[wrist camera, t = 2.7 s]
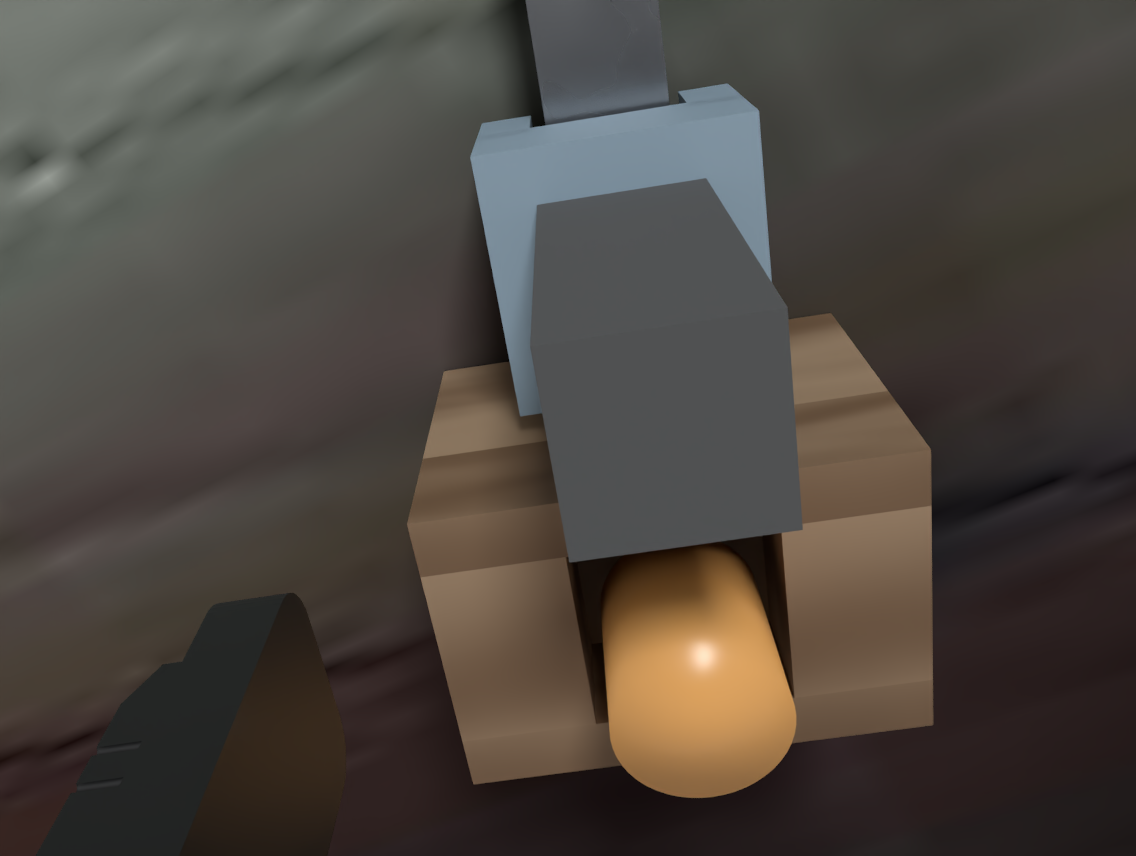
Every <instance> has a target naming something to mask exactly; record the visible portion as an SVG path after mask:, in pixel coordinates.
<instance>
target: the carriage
mask: <svg viewBox="0 0 1136 856" xmlns="http://www.w3.org/2000/svg"><path fill="white" fill-rule="evenodd" d="M678 96H679V104H675V105H669V106H663V107H657V108H651V109H644V110H638V111H632V112H626V113H620V114H614V115H607V116H601V117H595V118H589V119H583V120H576V121H570V122H564V123H558V124H552V125H546V126H539V127H533V126H532V120H531V116H525V117H519V118H512V119H506V120H500V121H494V122H488V123H482V125H481V128H480V131H479V134H478V137H477V139H476V142H475V145H474V148H473V151H472V154H471V156H470V158H471V163H472V168H473V174H474V179H475V184H476V189H477V194H478V200H479V205H480V210H481V215H482V220H483V226H484V231H485V236H486V241H487V246H488V252H489V257H490V262H491V267H492V272H493V278H494V283H495V288H496V293H497V298H498V304H499V309H500V314H501V319H502V324H503V330H504V335H505V340H506V345H507V350H508V356H509V361H510V366H511V371H512V376H513V382H514V387H515V392H516V397H517V402H518V408H519V413H520V416H527V415H534V414H540V413H542V415H543V420H544V426H545V431H546V437H547V442H548V448H549V453H550V459H551V464H552V470H553V475H554V481H555V486H556V492H557V497H558V503H559V508H560V514H561V519H562V525H563V530H564V536H565V541H566V547H567V552H568V558H569V563H570V562H577V561H585V560H592V559H599V558H606V557H613V556H620V555H627V554H635V553H642V552H649V551H656V550H663V549H670V548H677V547H685V546H692V545H699V544H706V543H713V542H720V541H727V540H735V539H742V538H749V537H756V536H763V535H770V534H777V533H785V532H792V531H799V530H803V525H802V510H801V496H800V481H799V467H798V452H797V438H796V423H795V409H794V394H793V380H792V365H791V351H790V336H789V322H788V308H787V306H786V304H785V303H784V301H783V300H782V298H781V296H780V295H779V293H778V292H777V290H776V288H775V287H774V285H773V284H772V280H771V267H770V253H769V240H768V226H767V213H766V200H765V186H764V173H763V160H762V146H761V133H760V120H759V110H758V109H756V108H755V107H754V106H753V105H752V104H751V103H749V102H748V101H747V100H746V99H745V98H744V97H743V96H741V95H740V94H739V93H738V92H737V91H736V90H734V89H733V88H732V87H731V86H730V85H729V84H722V85H716V86H709V87H703V88H697V89H691V90H685V91H679V92H678Z"/></svg>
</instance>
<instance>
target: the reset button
mask: <svg viewBox="0 0 1136 856" xmlns="http://www.w3.org/2000/svg"><path fill="white" fill-rule="evenodd" d="M600 609H601V623H602V636H603V650H604V663H605V677H606V690H607V704H608V717H609V731H610V740H611V744H612V748H613V750H614V753H615V755H616V757H617V759H618V760H619V762H620V763H621V765H622V766H623V767H624V768H625V770H626V771H627V772H628V773H629V774H630V775H632V776H633V777H634V778H635V779H636V780H638V781H639V782H641V783H642V784H644V785H646V786H648V787H650V788H652V789H654V790H656V791H659V792H662V793H665V794H669V795H673V796H678V797H687V798H706V797H715V796H720V795H725V794H729V793H732V792H736V791H738V790H741V789H743V788H746V787H748V786H750V785H751V784H753V783H755V782H757V781H758V780H760V779H761V778H763V777H764V776H766V775H767V774H768V773H769V772H771V771H772V770H773V769H774V768H775V767H776V766H777V765H778V764H779V763H780V761H781V760H782V759H783V757H784V756H785V755H786V753H787V751H788V749H789V748H790V746H791V744H792V741H793V738H794V735H795V730H796V710H795V705H794V702H793V698H792V695H791V692H790V689H789V686H788V683H787V679H786V676H785V673H784V670H783V667H782V664H781V660H780V657H779V654H778V651H777V648H776V644H775V641H774V638H773V635H772V632H771V629H770V625H769V622H768V619H767V616H766V613H765V610H764V606H763V603H762V600H761V597H760V594H759V591H758V587H757V584H756V581H755V578H754V575H753V573H752V571H751V569H750V567H749V566H748V564H747V563H746V562H745V560H744V559H743V558H742V557H741V556H740V555H739V554H738V553H737V552H735V551H734V550H733V549H732V548H730V547H729V546H727V545H725V544H723V543H722V542H713V543H706V544H699V545H692V546H685V547H677V548H670V549H663V550H656V551H649V552H642V553H635V554H627V555H624V556H622V557H621V558H620V559H619V560H618V561H617V562H616V564H615V565H614V566H613V568H612V569H611V570H610V572H609V574H608V576H607V577H606V579H605V582H604V584H603V587H602V592H601V598H600Z"/></svg>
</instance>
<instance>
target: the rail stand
mask: <svg viewBox="0 0 1136 856" xmlns="http://www.w3.org/2000/svg"><path fill="white" fill-rule="evenodd" d="M526 6H527V13H528V19H529V25H530V31H531V38H532V44H533V50H534V56H535V63H536V69H537V75H538V81H539V88H540V94H541V100H542V106H543V113H544V119H545V125H552V124H558V123H564V122H570V121H576V120H583V119H589V118H595V117H601V116H607V115H614V114H620V113H626V112H632V111H638V110H644V109H651V108H657V107H663V106H669V96H668V86H667V77H666V68H665V59H664V50H663V41H662V32H661V23H660V14H659V5H658V0H526ZM788 322H789V336H790V351H791V365H792V380H793V394H794V409H795V423H796V438H797V452H798V467H799V481H800V496H801V510H802V525H803V530H799V531H792V532H785V533H777V534H770V535H763V536H756V537H749V538H742V539H735V540H727V541H720V542H722V543H723V544H725V545H727V546H729V547H730V548H732V549H733V550H734V551H735V552H737V553H738V554H739V555H740V556H741V557H742V558H743V559H744V560H745V562H746V563H747V564H748V566H749V567H750V569H751V571H752V573H753V575H754V578H755V581H756V584H757V587H758V591H759V594H760V597H761V600H762V603H763V606H764V610H765V613H766V616H767V619H768V622H769V625H770V629H771V632H772V635H773V638H774V641H775V644H776V648H777V651H778V654H779V657H780V660H781V664H782V667H783V670H784V673H785V676H786V679H787V683H788V686H789V689H790V692H791V695H792V698H793V702H794V705H795V710H796V730H795V735H794V738H793V741H792V743H798V742H806V741H813V740H821V739H829V738H837V737H844V736H852V735H860V734H867V733H875V732H883V731H891V730H898V729H906V728H914V727H922V726H929V725H933V645H932V523H931V449H930V448H929V446H928V445H927V444H926V442H925V441H924V439H923V438H922V437H921V435H920V434H919V433H918V431H917V430H916V429H915V427H914V426H913V424H912V423H911V422H910V420H909V419H908V418H907V416H906V415H905V413H904V412H903V411H902V409H901V408H900V407H899V405H898V404H897V403H896V401H895V400H894V398H893V397H892V396H891V394H890V393H889V392H888V390H887V389H886V388H885V386H884V385H883V383H882V382H881V381H880V379H879V378H878V377H877V375H876V374H875V373H874V371H873V370H872V368H871V367H870V366H869V364H868V363H867V362H866V360H865V359H864V358H863V356H862V355H861V353H860V352H859V351H858V349H857V348H856V347H855V345H854V344H853V342H852V341H851V340H850V338H849V337H848V336H847V334H846V333H845V332H844V330H843V329H842V327H841V326H840V325H839V323H838V322H837V321H836V319H835V318H834V317H833V315H832V314H831V313H828V314H821V315H814V316H808V317H801V318H795V319H788ZM407 526H408V530H409V534H410V538H411V542H412V546H413V550H414V554H415V557H416V561H417V565H418V569H419V573H420V577H421V581H422V585H423V589H424V593H425V597H426V601H427V605H428V608H429V612H430V616H431V620H432V624H433V628H434V632H435V636H436V640H437V644H438V648H439V652H440V655H441V659H442V663H443V667H444V671H445V675H446V679H447V683H448V687H449V691H450V695H451V699H452V702H453V706H454V710H455V714H456V718H457V722H458V726H459V730H460V734H461V738H462V742H463V746H464V749H465V753H466V757H467V761H468V765H469V769H470V773H471V777H472V781H473V785H474V784H481V783H489V782H497V781H505V780H512V779H520V778H528V777H535V776H543V775H551V774H559V773H566V772H574V771H582V770H589V769H597V768H605V767H613V766H620V765H621V763H620V762H619V760H618V759H617V757H616V755H615V753H614V750H613V748H612V744H611V740H610V731H609V717H608V704H607V690H606V677H605V663H604V650H603V636H602V623H601V609H600V598H601V592H602V587H603V584H604V582H605V579H606V577H607V576H608V574H609V572H610V570H611V569H612V568H613V566H614V565H615V564H616V562H617V561H618V560H619V559H620V558H621V557H622V556H624V555H620V556H613V557H606V558H599V559H592V560H585V561H577V562H570V563H569V558H568V552H567V547H566V541H565V536H564V530H563V525H562V519H561V514H560V508H559V503H558V497H557V492H556V486H555V481H554V475H553V470H552V464H551V459H550V453H549V448H548V442H547V437H546V431H545V426H544V420H543V415H542V413H540V414H534V415H527V416H520V413H519V408H518V402H517V397H516V392H515V387H514V382H513V376H512V371H511V366H510V361H509V362H502V363H495V364H489V365H482V366H475V367H469V368H462V369H455V370H449V371H444V373H443V377H442V382H441V386H440V390H439V394H438V398H437V402H436V407H435V411H434V415H433V419H432V423H431V427H430V431H429V436H428V440H427V444H426V448H425V452H424V456H423V460H422V465H421V469H420V473H419V477H418V481H417V485H416V489H415V494H414V498H413V502H412V506H411V510H410V514H409V518H408V523H407Z"/></svg>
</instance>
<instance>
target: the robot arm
mask: <svg viewBox="0 0 1136 856" xmlns="http://www.w3.org/2000/svg"><path fill="white" fill-rule="evenodd" d="M97 751H98V752H97V755H95V756H92V757H91V758H90V760H89V762H88V764H87V765H86V767H85V769H84V771H83V773H82V774H81V776H80V778H79V780H78V781H77V783H76V784H77V792H76V793H71V794H70V796H69V797H68V799H67V801H66V803H65V805H64V806H63V808H62V810H61V812H60V813H59V815H58V817H57V819H56V821H55V822H54V824H53V826H52V828H51V829H50V831H49V833H48V835H47V837H46V838H45V840H44V842H43V844H42V845H41V847H40V849H39V851H38V853H37V854H36V856H327V854H328V850H329V846H330V842H331V838H332V834H333V830H334V826H335V822H336V817H337V813H338V809H339V805H340V801H341V797H342V793H343V788H344V783H345V775H346V748H345V738H344V732H343V727H342V722H341V718H340V715H339V712H338V709H337V705H336V702H335V699H334V696H333V693H332V690H331V687H330V683H329V680H328V677H327V674H326V671H325V668H324V664H323V661H322V658H321V655H320V652H319V649H318V646H317V642H316V639H315V636H314V633H313V630H312V627H311V623H310V620H309V617H308V614H307V612H306V609H305V607H304V605H303V603H302V601H301V600H300V598H299V597H298V596H297V595H296V594H294V593H286V594H280V595H273V596H266V597H259V598H252V599H245V600H239V601H232V602H225V603H218V604H215V605H213V606H212V607H211V608H210V610H209V611H208V613H207V614H206V616H205V618H204V620H203V622H202V624H201V626H200V628H199V630H198V632H197V634H196V636H195V638H194V640H193V642H192V644H191V646H190V648H189V650H188V652H187V654H186V656H185V658H184V660H183V662H177V663H170V664H163V665H162V666H161V667H160V668H159V669H158V670H157V671H156V672H155V673H153V674H152V675H151V676H150V677H149V678H148V679H147V680H146V681H145V682H144V683H143V684H142V685H141V686H140V687H139V688H138V689H136V690H135V691H134V692H133V693H132V694H131V695H130V696H129V697H128V698H127V699H126V700H125V701H124V702H123V703H122V704H121V705H120V707H119V709H118V710H117V712H116V714H115V716H114V717H113V719H112V721H111V723H110V725H109V726H108V728H107V730H106V732H105V733H104V735H103V737H102V739H101V741H100V742H99V744H98V746H97Z"/></svg>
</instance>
